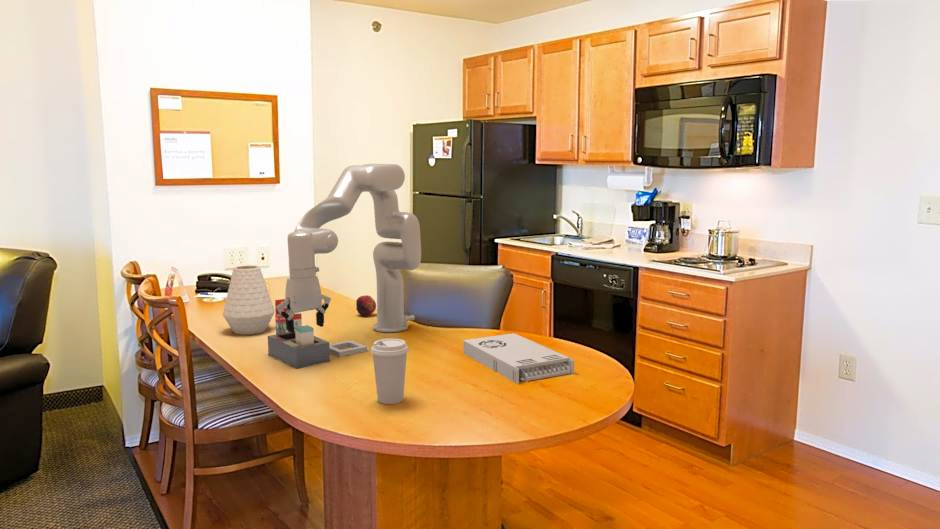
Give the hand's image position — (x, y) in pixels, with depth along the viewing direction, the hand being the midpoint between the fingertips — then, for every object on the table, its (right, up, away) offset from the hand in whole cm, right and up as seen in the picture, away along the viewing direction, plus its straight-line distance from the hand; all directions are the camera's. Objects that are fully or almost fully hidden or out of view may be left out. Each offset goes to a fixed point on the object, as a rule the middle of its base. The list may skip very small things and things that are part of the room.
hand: (305, 328), depth 200 cm
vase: (-29, -5, +37) cm, 47 cm away
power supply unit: (+63, -11, 0) cm, 64 cm away
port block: (-3, -9, +4) cm, 11 cm away
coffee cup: (+29, -15, -31) cm, 45 cm away
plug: (0, -8, +1) cm, 8 cm away
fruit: (+9, -1, +60) cm, 61 cm away
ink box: (-11, -7, +22) cm, 26 cm away
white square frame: (+10, -8, +12) cm, 18 cm away
